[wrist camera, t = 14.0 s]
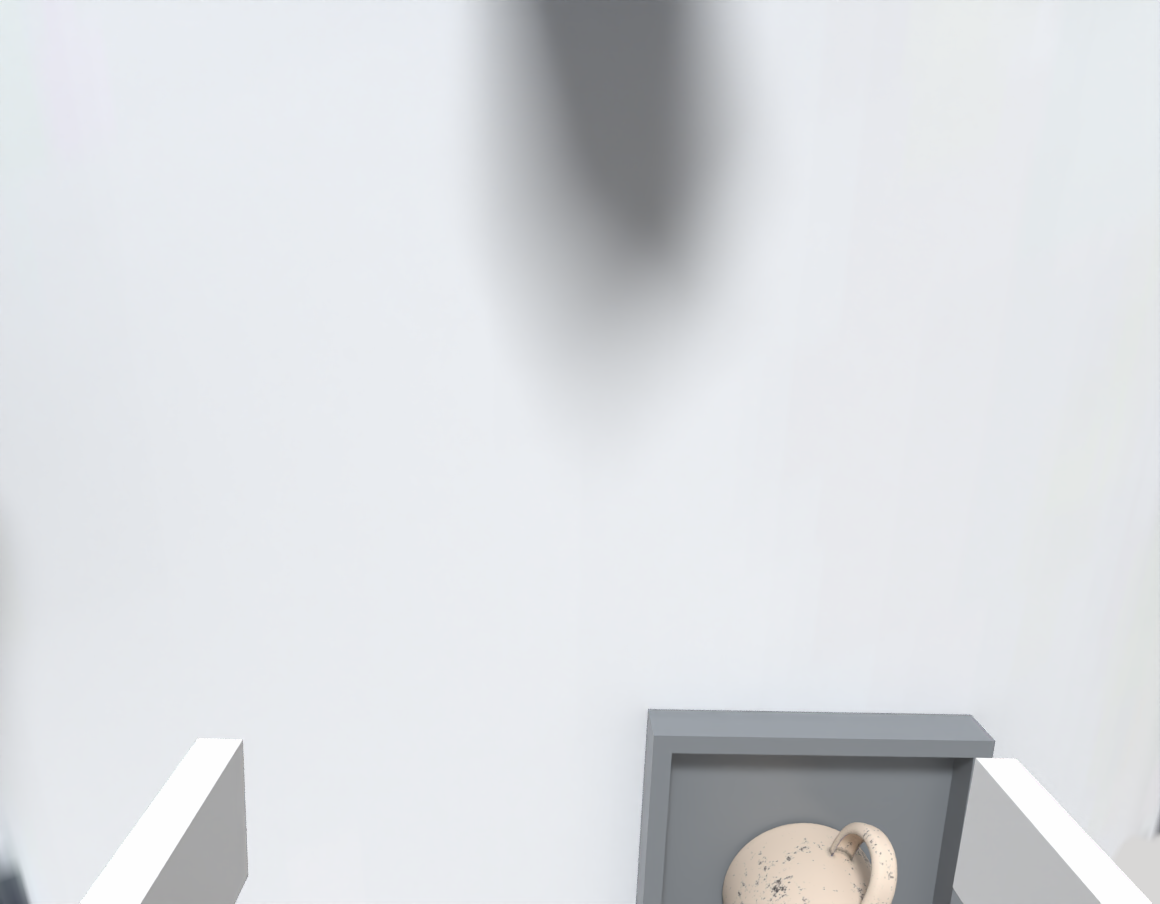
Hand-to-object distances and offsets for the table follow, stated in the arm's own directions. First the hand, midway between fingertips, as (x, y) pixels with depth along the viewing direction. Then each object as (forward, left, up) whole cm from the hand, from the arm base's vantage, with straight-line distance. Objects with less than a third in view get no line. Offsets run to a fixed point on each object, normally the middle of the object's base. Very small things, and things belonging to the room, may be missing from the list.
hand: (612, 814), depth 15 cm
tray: (+14, -23, -28) cm, 39 cm away
